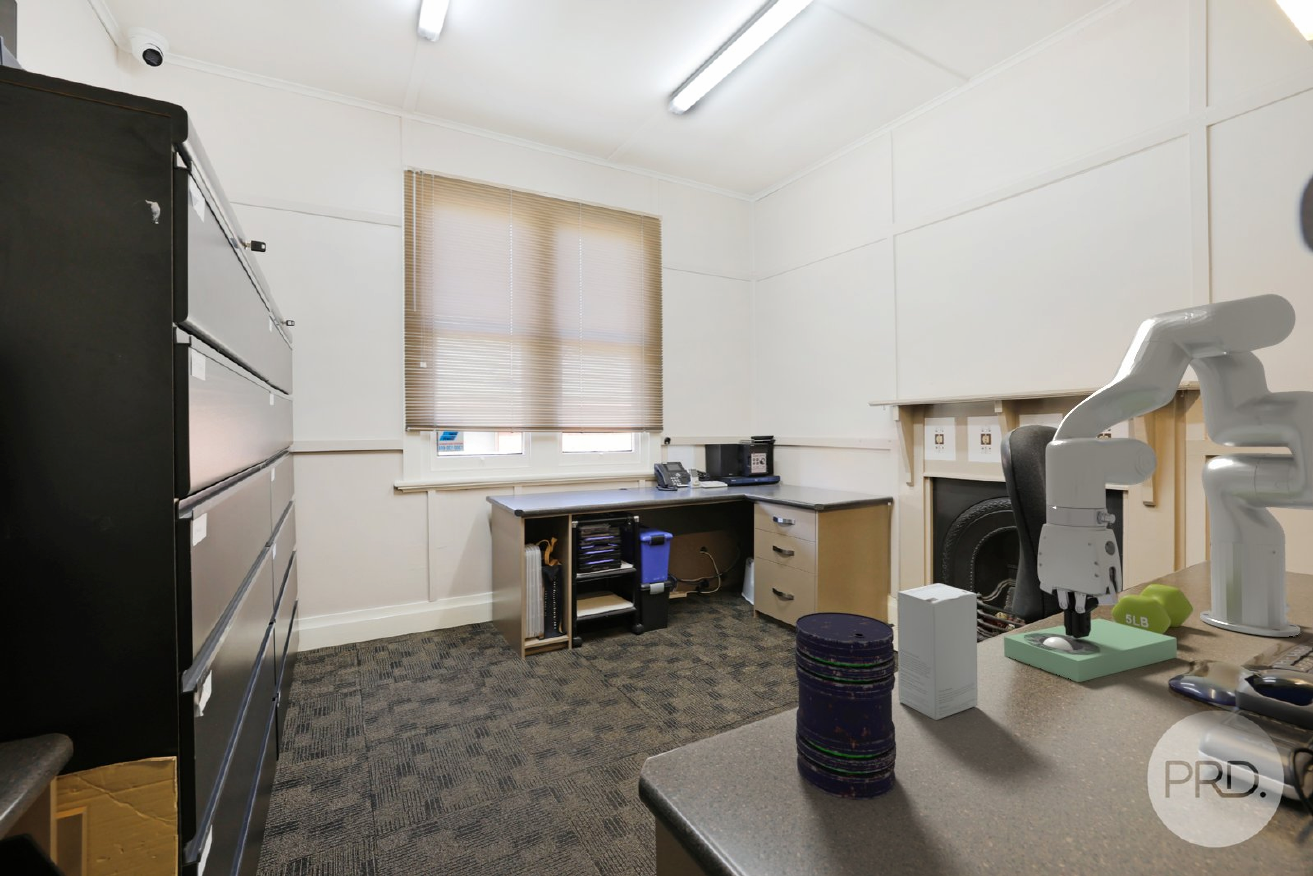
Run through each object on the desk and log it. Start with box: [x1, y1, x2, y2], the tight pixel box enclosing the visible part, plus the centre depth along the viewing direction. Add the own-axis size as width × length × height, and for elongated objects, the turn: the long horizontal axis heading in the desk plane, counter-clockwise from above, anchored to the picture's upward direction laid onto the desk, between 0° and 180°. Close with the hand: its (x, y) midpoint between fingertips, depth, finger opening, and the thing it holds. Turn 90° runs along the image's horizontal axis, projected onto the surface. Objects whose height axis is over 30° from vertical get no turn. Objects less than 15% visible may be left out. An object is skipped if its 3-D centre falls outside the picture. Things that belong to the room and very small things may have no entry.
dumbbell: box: [1110, 583, 1194, 635], centre depth 102 cm, size 16×8×7 cm, turn 123°
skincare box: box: [897, 582, 979, 721], centre depth 73 cm, size 8×6×15 cm
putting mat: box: [1003, 618, 1178, 683], centre depth 89 cm, size 24×11×3 cm, turn 112°
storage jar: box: [794, 611, 897, 801], centre depth 59 cm, size 10×10×15 cm
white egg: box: [1043, 637, 1073, 650], centre depth 86 cm, size 4×4×4 cm
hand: (1077, 635), depth 88 cm, fingers closed
